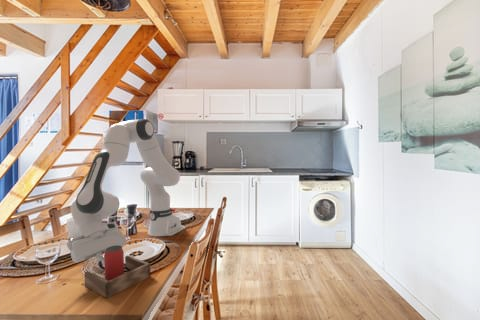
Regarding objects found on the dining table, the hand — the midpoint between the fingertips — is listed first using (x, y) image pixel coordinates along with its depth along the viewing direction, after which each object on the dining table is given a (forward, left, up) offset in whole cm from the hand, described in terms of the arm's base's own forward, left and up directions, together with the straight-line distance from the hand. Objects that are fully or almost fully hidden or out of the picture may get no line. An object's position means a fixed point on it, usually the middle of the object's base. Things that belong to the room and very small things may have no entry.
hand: (107, 262), depth 99 cm
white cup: (-16, -59, -6) cm, 61 cm away
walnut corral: (0, +6, -5) cm, 8 cm away
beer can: (0, +4, -6) cm, 7 cm away
